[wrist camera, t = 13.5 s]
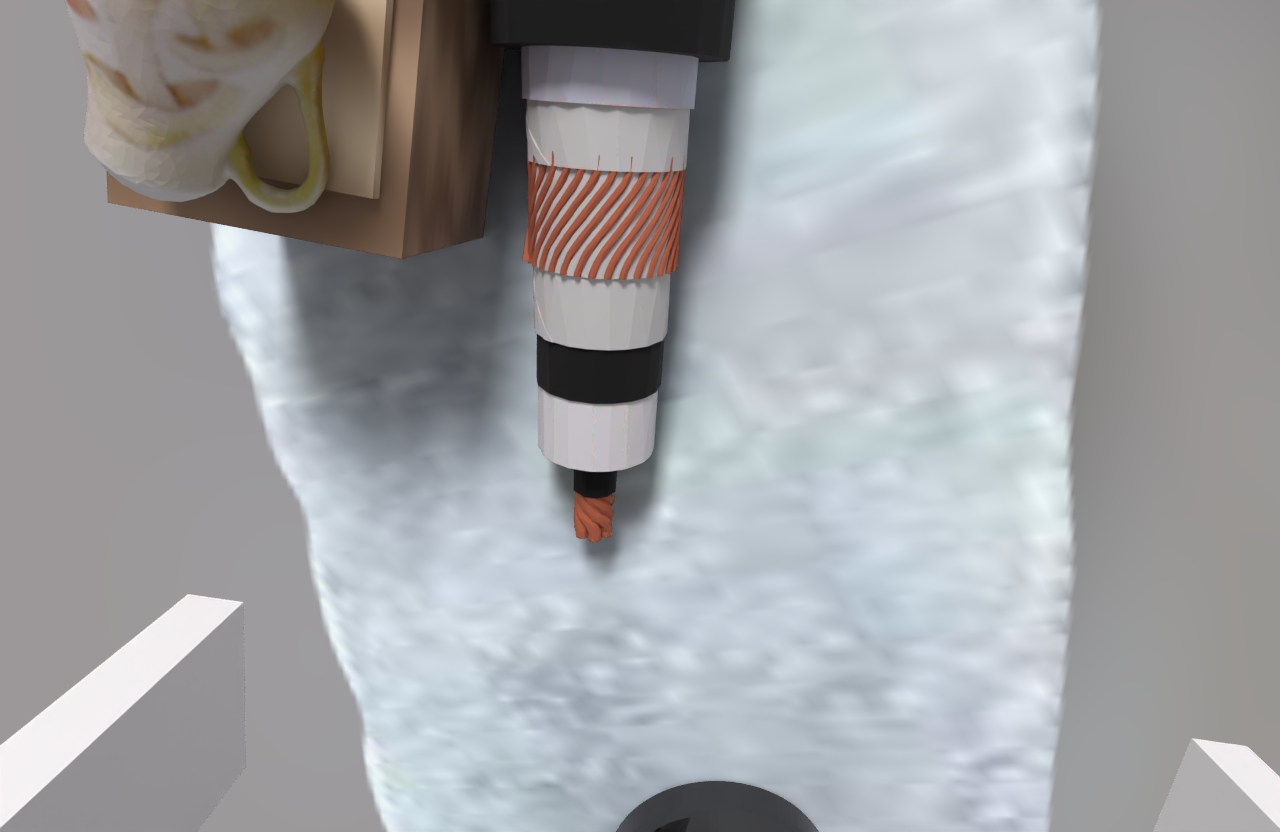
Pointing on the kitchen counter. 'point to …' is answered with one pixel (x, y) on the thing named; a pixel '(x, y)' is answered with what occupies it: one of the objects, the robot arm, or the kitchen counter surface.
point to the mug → (199, 91)
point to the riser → (377, 134)
